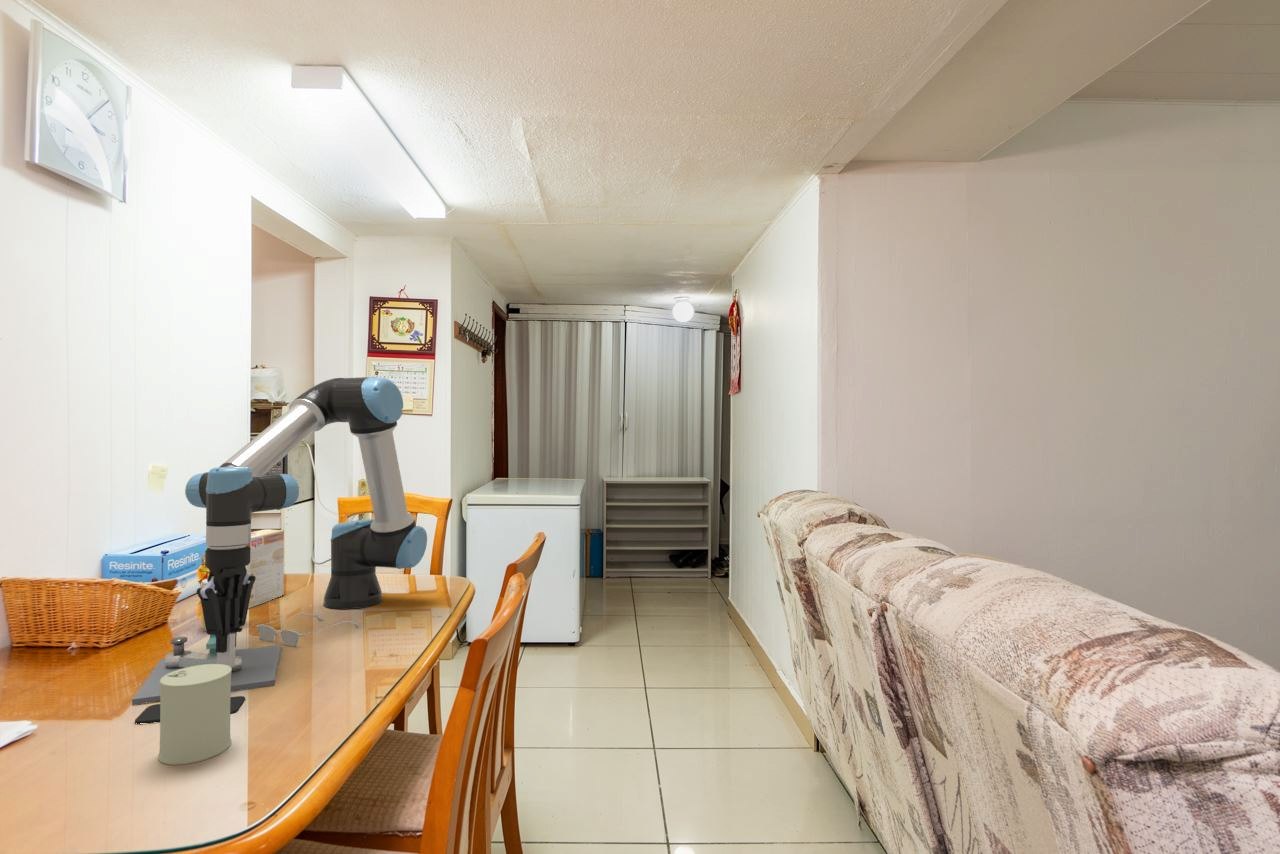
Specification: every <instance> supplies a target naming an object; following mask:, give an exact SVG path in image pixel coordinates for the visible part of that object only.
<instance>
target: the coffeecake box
mask: <svg viewBox="0 0 1280 854" xmlns="http://www.w3.org/2000/svg"><path fill="white" fill-rule="evenodd" d="M247 545H248V546H249V547H250V563H249V564H248V565H246V566H245V567H246V570H247V574H248V575H250V576H255V577H256V579H255V582H254V584H253V586H252V590H251V596H250V601H249V606H248V610H249V609H251V608H254V607H257V606H259V605H261V604H265V603H267V602H271V601H273V600H276V599H278V598H277V597H279V598H281V597H283V596H282V595H284V594H285V593H284V591H285V590H284V589H285V587H284V580H285V579H284V578H285V577H284V575H285V574H284V573H285V572H284V570H285V569H284V565H285V564H284V563H285V562H284V561H285V559H284V558H285V530H284V529H272V528H271V529H269V528H268V529H260V530H255V531H251V542H250V543H249V544H247ZM280 596H281V597H280ZM275 598H276V599H275ZM272 599H273V600H272Z"/></svg>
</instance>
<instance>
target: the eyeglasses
mask: <svg viewBox="0 0 1280 854" xmlns="http://www.w3.org/2000/svg"><path fill="white" fill-rule="evenodd" d="M302 615H303V616H304V615H307V616H312V617H314V618H316V619H317V621H318V620H323V621H325V620H324V619H325V618H323V617H322V616H319V615H317V614H313V613H307V612H306V613H298V614H294V615H292V616H287V617H284V618H281V619H277V620H274V621H271V622H268V623H264V624H263V623H262V624H261V623H260V624H258V625H256V626H255V628H257V631H258V635H259V638H260V640H261V641H262V640H263V641H266V642H274V640H275V637H276V638H277V635H278V632H279V633H280V638H281V641H282V644H283V645H285V644H286V646H289V645H290V647H297V645H298V643H299V640H300V638H301V637H305V636H307V635H309V634H312V633H314V632H318V631H321V630H325V629H327V628H331V627H333V626H336V625H340V624H343V623H351V624H352V625H354V626H355V628H356V629H359V627H360V628H362V625H360V624H359V623H357V622H355V621H352V620H344V621H340V622H337V623H336V624H332V625H329V626H326V627H323V628H321V629H317V630H313V631H310V632H303V633H299V632H297V631H295V630H290V629H282V630H276V629H275V628H274V627H272V626H270V625H269V624H271V623H275V622H278V621H281V620H285V619H288V618H289V619H290V618H293V617H297V616H302Z"/></svg>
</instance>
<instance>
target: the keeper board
mask: <svg viewBox="0 0 1280 854" xmlns="http://www.w3.org/2000/svg"><path fill="white" fill-rule="evenodd" d="M205 648H206V649H205V650H209V653H208V652H207V653H208V654H217V652H216V636H215V635H209V638H208V640H207V642H206V644H205ZM281 653H282V644H277V645H268V646H260V647H258V646H257V647H249V648H243V649H242V648H241V649H235V656H240V657H242V668H241V669H240V670H237V671H232V672H231V692H235V691H243V690H249V689H250V690H251V689H257V688H264V687H265V688H266V687H271V686H275V683H276V679H277V678H276V677H277V672H278V668H279V667H278V666H279V663H280V659H281V658H280V657H281ZM183 668H184V667H174V668H169V667H166V666H165V657H164V658H160V660H159V661H158V663H157V664H156V665H155V667H154V668H153V669H152V671H151V672H150V673H149V675H148V677H147V678H146V679H145V681H144V682H143V684H142V685H141V686H140V688H138V690H137V692H136V693H135V695H134V696H133V697H132V699H131V706H134V705H133V704H137V705H142V704H141V703H144V704H150V703H149V702H151V703H157V702H160V679H161V678H162V677H163V676H165V675H166V674H168V673H171V672H173V671H176V670H179V669H183ZM156 701H157V702H156ZM146 702H147V703H146Z"/></svg>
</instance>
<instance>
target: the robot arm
mask: <svg viewBox="0 0 1280 854" xmlns="http://www.w3.org/2000/svg"><path fill="white" fill-rule="evenodd" d="M402 409H403V410H404V400H403V395H402V393H401V391H400V388H399V387H398V386H397V385H396V383H394V382H393V381H392V380H391V379H388V378H385V377H376V376H370V377H369V376H368V377H364V376H363V377H335V378H330V379H326V380H324V381H322V382H320V383H317V384H315V385H314V386H312V387H311V388H308V389H307V390H306V391H304V392H303V393H301V394H300V395H298V397H296V398H295V399H293V400H292V401H291V403H289V406H288V410H287V411H285V412H284V413H283V414H282V415H281V416H279V417H278V418H277V419H276V420H275V421H273V422H272V423H271V424H270V425H268V426H267V427H266V428H265V429H264V430H262V431H261V432H260V433H259V434H258V435H256V436H255V437H254V438H252V439H251V440H250V441H249V442H248V443H247V444H245V445H244V446H243V447H241V449H239V450H238V451H237V452H235V454H232V455H231V457H229V458H228V459H227V460H226V461H225V462H223V463H222V464H221V465H220V466H219V467H218V466H217V467H212V468H211V469H210V470H209V471H207V472H203V473H197V474H194V475H192V476H191V477H190V478H189V479H188V480H187V482H186V485H185V488H184V493H185V494H184V495H185V498H186V500H187V501H188V502H189V504H191V505H192V506H194V507H195V508H200V509H201V508H202V509H206V510H205V511H206V512H205V513H206V515H205V520H206V522H205V524H206V527H205V531H206V532H205V546H207V548H206V549H205V550H204V551H205V552H204V555H205V556H204V566H205V568H207V569H208V570H209V572H208V573H209V574H208V576H207V578H208V579H207V578H206V579H207V581H208V583H207V584H206V585H205V586H204V588H201V587H198V588H197V590H196V594H197V596H198V598H199V600H200V603H201V604H200V605H201V608H202V609H201V610H203V612H202V616H203V615H204V621H205V626H206V634H207V635H209V636H210V635H215V636H216V652H217V664H223V665H228V666H230V667H231V668H232V667H235V650H236V647H237V638H238V637H237V636H238V634H237V633H241V632H242V630H243V627H244V626H245V625H246V622H247V617H248V611H249V609H248V606H249V601H250V596H251V590H252V586H253V584H254V582H255V579H256V577H255V576H250V575H248V574H247V570H246V567H245V566H246V565H248V564H249V563H250V547H249V546H248V545H247V544H249V543H250V542H251V532H252V513H256V512H266V511H274V510H275V511H276V510H277V511H279V510H282V509H287V508H289V507H292V506H293V505H295V504H296V502H297V501H298V499H299V495H300V486H299V483H298V482H297V480H296V479H295V478H294V477H293V476H292V475H290V474H287V473H273V474H266V473H268V472H269V471H270V470H271V469H272V468H274V466H276V465H277V464H278V463H279V462H280V461H282V459H283V458H285V456H287V455H288V454H289V453H290V452H291V451H293V449H294V448H295V447H297V446H298V445H299V444H300V443H301V442H302V441H304V440H305V439H306V438H307V437H308V436H309V435H310V434H311V433H312V432H314V433H315V432H319V431H320V430H322V429H323V428H324V427H326V426H327V425H330V424H334V423H348V426H349V432H350V433H351V434H352V435H353V436H355V437H357V438H358V443H359V449H360V453H361V458H362V464H363V468H364V473H365V478H366V482H367V487H368V492H369V498H370V503H371V508H372V512H373V517H374V518H368V519H367V518H366V519H359V520H352V521H346V522H339V523H336V524H335V525H334V526H333V527H332V529H331V537H330V550H331V551H330V567H331V568H330V574H331V575H330V579H329V582H328V584H327V588H326V589H325V593H324V597H323V606H324V607H326V608H330V609H335V610H336V609H337V610H347V609H359V608H365V607H371V606H374V605H376V604H379V603H380V602H382V601H383V591H382V588H381V585H380V582H379V580H378V577H377V573H376V571H377V570H376V569H377V568H386V569H387V568H391V569H397V570H401V569H412V568H415V567H416V566H417V565H418V564H419V563H420V562H421V561H422V559H423V557H424V555H425V553H426V549H427V544H428V534H427V530H426V529H425V528H424V527H423V526H420V525H416V520H415V516H414V515H413V514H411V513H410V512H409V511H408V508H407V502H406V497H405V491H404V487H403V481H402V480H403V479H402V476H401V475H402V474H401V471H400V465H399V461H398V460H399V459H398V454H397V449H396V443H395V439H394V430H395V429H396V428H397V427H398V421H399V420H400V419H401V418H402V415H403V410H402ZM239 619H240V620H239Z"/></svg>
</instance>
